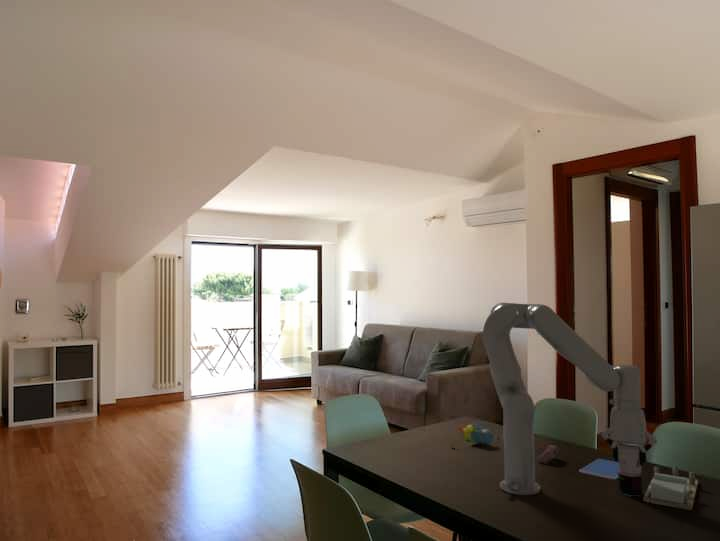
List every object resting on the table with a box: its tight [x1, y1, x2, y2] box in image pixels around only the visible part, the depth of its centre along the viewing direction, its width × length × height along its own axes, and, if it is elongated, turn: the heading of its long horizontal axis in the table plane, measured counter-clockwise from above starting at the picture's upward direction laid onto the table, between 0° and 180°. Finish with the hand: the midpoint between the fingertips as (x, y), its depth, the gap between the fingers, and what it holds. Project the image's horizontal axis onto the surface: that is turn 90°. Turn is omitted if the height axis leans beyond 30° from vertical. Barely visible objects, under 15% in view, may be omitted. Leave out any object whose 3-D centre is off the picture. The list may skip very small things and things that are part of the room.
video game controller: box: [536, 444, 560, 464], centre depth 203 cm, size 10×5×7 cm, turn 143°
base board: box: [642, 465, 699, 511], centre depth 170 cm, size 27×12×5 cm, turn 145°
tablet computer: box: [578, 458, 618, 481], centre depth 193 cm, size 19×13×1 cm, turn 136°
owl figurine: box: [458, 422, 497, 445], centre depth 228 cm, size 28×9×15 cm
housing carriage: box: [651, 473, 687, 504], centre depth 164 cm, size 10×8×5 cm
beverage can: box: [617, 442, 643, 497], centre depth 169 cm, size 6×7×15 cm
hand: (629, 461), depth 170 cm, fingers closed on beverage can, 6 cm apart
